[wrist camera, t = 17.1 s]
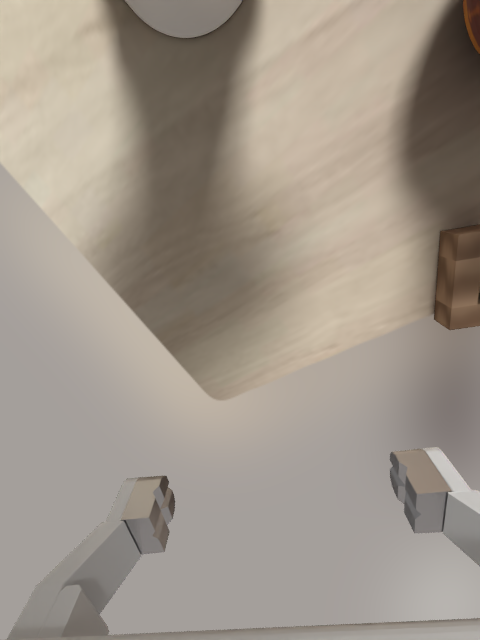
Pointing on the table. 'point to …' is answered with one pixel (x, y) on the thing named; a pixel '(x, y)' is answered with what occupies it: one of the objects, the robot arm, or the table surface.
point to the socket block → (458, 278)
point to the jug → (473, 21)
